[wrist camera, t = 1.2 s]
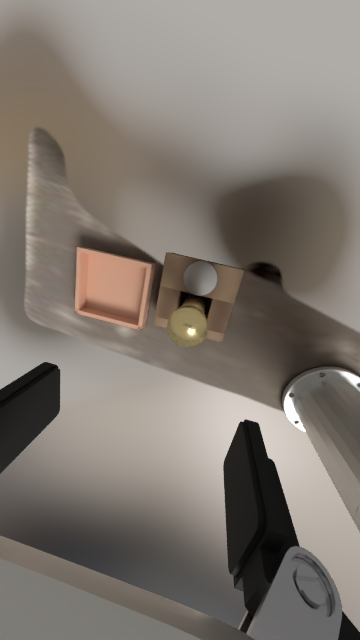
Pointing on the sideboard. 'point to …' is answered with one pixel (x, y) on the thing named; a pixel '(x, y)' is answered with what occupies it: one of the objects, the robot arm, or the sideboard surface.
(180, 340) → the pin
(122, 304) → the tray
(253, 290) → the sideboard surface
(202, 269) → the block
